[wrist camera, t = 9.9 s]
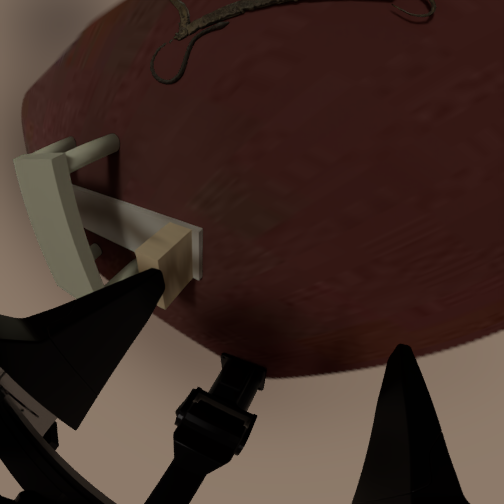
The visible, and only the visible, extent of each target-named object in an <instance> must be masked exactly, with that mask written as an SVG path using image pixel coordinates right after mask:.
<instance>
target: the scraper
mask: <svg viewBox="0 0 504 504" xmlns="http://www.w3.org/2000/svg"><path fill="white" fill-rule="evenodd" d="M72 187H73V191H74V195H75V199H76V203H77V207H78V211H79V214H80V218H81V221H82V225H83V227H84V228H86V229H88V230H90V231H92V232H94V233H96V234H98V235H100V236H102V237H104V238H106V239H108V240H110V241H112V242H114V243H116V244H119V245H121V246H123V247H125V248H127V249H129V250H131V251H134V252H135V254H136V259H137V264H138V269H139V273H140V272H142V271H145V270H147V269H150V268H156V269H159V270H161V271H162V273H163V277H164V282H165V291H164V293H163V295H162V296H161V298H160V300H159V302H158V303H157V306H159V307H161V308H163V309H165V310H166V308H167V307H168V306H169V305H170V304H171V303H172V301H173V300H174V299H175V298H176V297H177V296H178V294H179V293H180V292H181V291H182V290H183V289H184V287H185V286H186V285H187V284H188V283H189V282H190V281H191V279H192V278H194V279H197V280H200V279H201V278H202V244H203V228H200V227H197V226H194V225H191V224H188V223H185V222H182V221H180V220H177V219H174V218H171V217H168V216H165V215H162V214H159V213H156V212H153V211H150V210H147V209H144V208H141V207H139V206H136V205H133V204H130V203H127V202H124V201H121V200H118V199H115V198H112V197H109V196H106V195H103V194H100V193H97V192H94V191H91V190H88V189H85V188H82V187H79V186H76V185H72Z"/></svg>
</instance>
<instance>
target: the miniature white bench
mask: <svg viewBox="0 0 504 504" xmlns="http://www.w3.org/2000/svg"><path fill="white" fill-rule="evenodd" d="M119 147H120V141H119V138H118V137H117V135H115V134H113V133H112V134H109V135H106V136H104V137H101V138H98V139H96V140H93V141H91V142H88V143H86V144H83V145H81V146H78V147H76V142H75V140H74V138H73V137H68V138H65V139H63V140H61V141H58V142H56V143H53V144H51V145H49V146H47V147H44V148H42V149H40V150H38V151H36V152H34V153H32V154H23V155H21V156H19V157H17V158H15V159H13V162H14V166H15V170H16V175H17V179H18V182H19V186H20V190H21V193H22V197H23V200H24V203H25V207H26V210H27V213H28V216H29V219H30V222H31V224H32V227H33V230H34V233H35V235H36V238H37V241H38V243H39V246H40V248H41V251H42V253H43V255H44V258H45V260H46V262H47V265H48V267H49V269H50V271H51V273H52V275H53V278H54V280H55V282H56V283H57V286H59V287H61V288H62V289H63V290H65V291H66V292H67V293H69V294H70V295H72V296H73V297H75V298H76V299H78V298H80V297H82V296H85V295H87V294H89V293H92V292H94V291H97V290H99V289H101V288H104V287H106V286H109V285H111V284H113V283H116V282H118V281H121V280H123V279H125V278H128V277H130V276H133V275H135V274H138V273H139V269H138V264H137V259H133V260H132V261H131V262H130V263H129V264H128V265H126V266H125V267H124V268H123V269H122V270H121V271H120V272H119V273H118V274H116V275H115V276H114V277H113V278H112V279H111V280H110V281H109V282H108V283H107V284H106V285H103V282H102V280H101V277H100V275H99V272H98V269H97V267H96V264H95V261H94V260H95V259H96V258H98V257H99V256H100V255H101V254H102V251H101V249H100V247H99V246H98V245H97V244H96V243H93V244H92V245H91V246H90V247H89V244H88V241H87V238H86V234H85V231H84V228H83V225H82V221H81V218H80V214H79V211H78V207H77V203H76V199H75V195H74V191H73V187H72V183H71V178H70V173H72V172H74V171H76V170H78V169H80V168H82V167H84V166H86V165H88V164H90V163H92V162H94V161H96V160H98V159H101V158H103V157H105V156H107V155H110V154H112V153H114V152H117V151H118V150H119Z"/></svg>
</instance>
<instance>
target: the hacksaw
mask: <svg viewBox="0 0 504 504" xmlns="http://www.w3.org/2000/svg"><path fill="white" fill-rule="evenodd" d="M170 1H171V2H172V3H173V5H174V6H175V7H176V8H177V9H178V11H179V14H180V21H181V23H179V32H178V33H175V34H176V36H174V39H178V40H182V39H184V38H186V36H188V35H191V34H193V33H195V32H196V31H197V30H199V29H203V28H205V27H207V26H209V25H212V24H214V23H217V22H219V21H222V20H225V19H228V18H230V17H233V16H236V15H239V14H241V13H245V10H255V9H256V8H263V7H266V6H271V5H272V4H276V3H278V4H281V3H285V2H290V1H295V2H296V1H299V0H241V1H238V2H235V3H231V4H230V5H227V6H224V7H222V8H220V9H217V10H215V11H214V12H212V13H210V14H207V15H204V16H203V17H202V18H199V19H198V20H194V21H193V22H192V23H191V24H190V21H189V20H190V19H189V17H190V15H189V11H188V9H187V7H186V6H185V4H184V3H183V2H182V1H180V0H170ZM429 1H430V2H431V5H432V8H431V11H430V12H429V13H428V14H423V15H417V14H411V13H408V12H406V11H405V10H403V9H401V8H399V7H397V6H395V5H393V4H392V5H393V6H394V7H396V8H398V9H399V10H401V11H403V12H405V13H407V14H409V15H412V16H417V17H427V16H431V15H432V14H433V13H434V12H435V9H436V4H435V1H434V0H429ZM228 23H229V22H219V23H217V24H216V25H213V26H211V27H209V28H207V29H205V30H203V31H201V32H200V33H198V34H197V35H196V36H195V37H194V38H193V39H192V40H191V42H190V43H189V46H188V47H187V51H186V53H185V56H184V59H183V62H182V65H181V68H180V70H179V72H178V74H177V75H176V76H175V77H174V78H172V79H171V80H164V79H161V78H160V77H158V76H157V74H156V73H155V71H154V68H153V67H154V64H153V61H154V59H155V56H156V55H157V52H158V51H159V50H160V49H161V47H164V46H165V45H166V44H167V43H164V44H163V45H162V46H160V47H159V48H158V49H157V50H156V52H155V54H154V56H153V57H152V60H151V62H150V65H151V67H150V70H151V72H152V75H153V76H154V78H155V79H156V80H158V81H159V82H161V83H165V84H172V83H173V82H175V81H177V80H178V79H179V78H180V77H181V76H182V74H183V72H184V70H185V67H186V64H187V60H188V58H189V54H190V51H191V49H192V46H193V45H194V43H195V41H196V40H197V39H198V38H199V37H201V36H202V35H204V34H206V33H208V32H210V31H213V30H215V29H221V28H223V27H225V26H226V25H227V24H228ZM172 40H173V39H172ZM172 40H170V41H169V43H171V42H172Z"/></svg>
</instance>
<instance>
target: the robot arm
mask: <svg viewBox="0 0 504 504" xmlns="http://www.w3.org/2000/svg"><path fill="white" fill-rule="evenodd" d="M164 291H165V282H164V277H163V273H162V271H161V270H159V269H156V268H150V269H147V270H145V271H142V272H140V273H138V274H135V275H133V276H130V277H128V278H125V279H123V280H121V281H118V282H116V283H113V284H111V285H109V286H106V287H104V288H101V289H99V290H97V291H94V292H92V293H89V294H87V295H85V296H82V297H80V298H78V299H77V300H73V301H71V302H68V303H66V304H63V305H61V306H58V307H56V308H53V309H50V310H48V311H44V312H42V313H39V314H36V315H33V316H30V317H27V318H13V317H9V316H4V315H0V459H1V460H2V462H3V463H4V465H5V466H6V467H7V469H8V470H9V471H10V473H11V474H12V475H13V477H14V478H15V479H16V481H17V482H18V483H19V484H20V486H21V487H22V488H23V489H24V491H22V492H20V493H19V494H18V496H17V497H16V499H15V500H12V499H9V498H6V497H2V496H1V495H0V504H116V503H115V502H113V501H112V500H111V499H109V498H108V497H107V496H105V495H104V494H103V493H102V492H100V491H99V490H98V489H96V488H95V487H94V486H93V485H92V484H90V483H89V482H88V481H87V480H86V479H84V478H83V477H82V476H81V475H80V474H79V473H78V472H76V471H75V470H74V469H73V468H72V467H71V466H70V465H69V464H68V463H67V462H66V461H65V460H64V459H63V458H62V457H60V455H59V454H58V453H57V452H56V451H55V450H56V449H57V447H58V446H59V443H58V433H57V423H56V422H55V420H56V419H57V418H59V419H60V420H61V421H63V422H64V423H66V424H67V425H68V426H70V427H71V428H73V429H74V430H77V429H78V427H79V425H80V424H81V422H82V421H83V419H84V417H85V416H86V414H87V412H88V411H89V409H90V408H91V406H92V404H93V403H94V401H95V399H96V398H97V396H98V395H99V393H100V391H101V390H102V388H103V387H104V385H105V384H106V382H107V381H108V379H109V377H110V376H111V374H112V373H113V371H114V370H115V368H116V367H117V365H118V364H119V362H120V361H121V359H122V358H123V356H124V355H125V353H126V352H127V350H128V349H129V347H130V346H131V344H132V343H133V341H134V340H135V339H136V337H137V336H138V334H139V333H140V331H141V330H142V328H143V327H144V325H145V324H146V323H147V321H148V319H149V318H150V316H151V314H152V312H153V311H154V309H155V307H156V305H157V303H158V302H159V300H160V298H161V296H162V295H163V293H164ZM221 363H222V370H221V372H220V374H219V375H218V377H217V379H216V380H215V382H214V384H213V385H212V387H211V389H210V391H209V392H206V391H204V390H202V388H200V387H198V388H197V389H192V391H191V393H190V394H189V395H188V397H187V398H186V399H185V401H184V402H183V403H182V404H181V405H180V406H179V407H178V409H177V410H176V416H177V417H176V421H175V425H177V426H178V427H177V428H176V430H175V432H174V435H173V438H174V459H173V461H172V463H171V464H170V466H169V467H168V469H167V470H166V472H165V473H164V475H163V476H162V478H161V479H160V481H159V483H158V484H157V485H156V487H155V489H154V490H153V491H152V493H151V494H150V496H149V498H148V499H147V500H146V502H145V503H144V504H189V503H190V501H191V500H192V498H193V496H194V495H195V493H196V491H197V490H198V488H199V486H200V484H201V483H202V481H203V480H204V478H205V476H206V475H207V474H208V473H210V472H212V471H214V470H216V469H218V468H219V467H221V466H223V465H225V464H227V463H228V462H229V461H230V460H231V459H232V457H233V455H234V454H235V455H239V453H240V452H241V450H242V449H243V447H244V446H245V444H246V442H247V440H248V437H249V435H250V433H251V430H252V428H253V425H254V423H255V421H256V418H257V415H255V414H251V413H249V412H247V410H248V408H249V406H250V404H251V402H252V400H253V398H254V396H255V394H256V392H257V389H258V390H263V388H264V383H265V377H266V369H265V368H263V367H260V366H257V365H254V364H252V363H249V362H246V361H243V360H241V359H238V358H235V357H233V356H230V355H228V354H225V353H222V354H221ZM197 402H198V403H197ZM441 431H442V430H441V427H440V424H439V420H438V417H437V414H436V411H435V408H434V406H433V403H432V400H431V397H430V395H429V392H428V389H427V387H426V384H425V381H424V378H423V376H422V373H421V371H420V368H419V366H418V364H417V361H416V359H415V356H414V354H413V352H412V349H411V347H410V346H408V345H404V344H398V345H397V347H396V348H395V350H394V351H393V353H392V354H391V355H390V357H389V359H388V362H387V366H386V370H385V374H384V378H383V382H382V386H381V390H380V394H379V397H378V401H377V406H376V412H375V417H374V423H373V428H372V432H371V437H370V441H369V446H368V450H367V454H366V458H365V462H364V465H363V469H362V473H361V476H360V479H359V483H358V486H357V489H356V492H355V495H354V498H353V501H352V504H470V503H469V502H468V501H467V500H466V498H465V497H464V495H463V492H462V490H461V487H460V484H459V481H458V478H457V475H456V472H455V470H454V467H453V464H452V461H451V458H450V456H449V453H448V449H447V446H446V443H445V440H444V436H443V433H442V432H441Z"/></svg>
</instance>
